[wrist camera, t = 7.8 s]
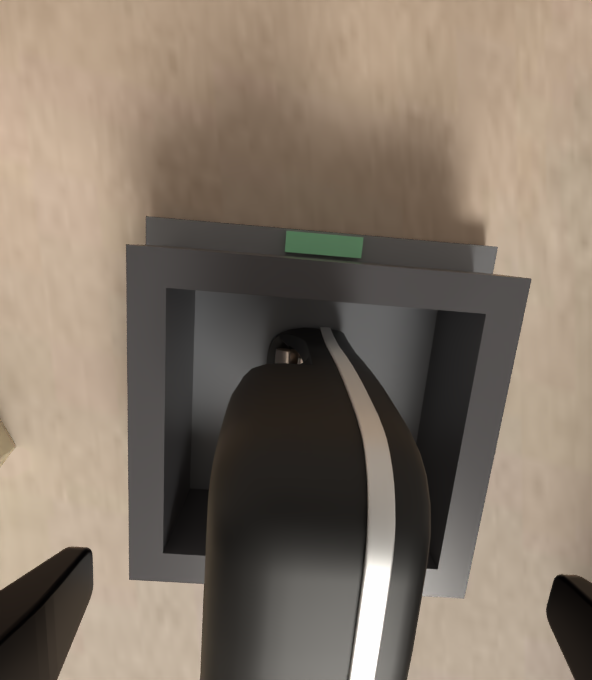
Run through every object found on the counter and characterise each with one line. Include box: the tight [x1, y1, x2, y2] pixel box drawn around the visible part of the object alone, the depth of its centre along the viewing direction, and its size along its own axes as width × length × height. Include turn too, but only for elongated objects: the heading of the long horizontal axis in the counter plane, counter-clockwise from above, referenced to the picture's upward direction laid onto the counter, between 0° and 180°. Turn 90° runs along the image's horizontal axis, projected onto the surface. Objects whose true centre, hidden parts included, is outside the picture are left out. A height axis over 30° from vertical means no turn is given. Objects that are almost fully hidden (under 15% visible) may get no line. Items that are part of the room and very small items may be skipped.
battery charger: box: [200, 327, 431, 680], centre depth 12 cm, size 7×4×11 cm, turn 175°
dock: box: [126, 216, 531, 598], centre depth 16 cm, size 14×14×5 cm
